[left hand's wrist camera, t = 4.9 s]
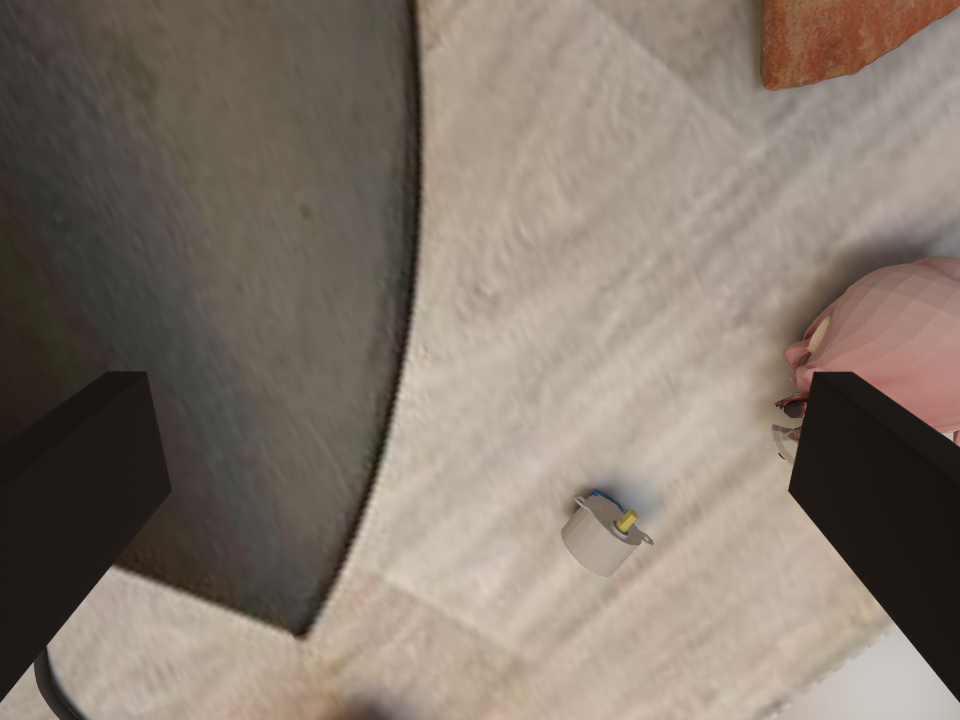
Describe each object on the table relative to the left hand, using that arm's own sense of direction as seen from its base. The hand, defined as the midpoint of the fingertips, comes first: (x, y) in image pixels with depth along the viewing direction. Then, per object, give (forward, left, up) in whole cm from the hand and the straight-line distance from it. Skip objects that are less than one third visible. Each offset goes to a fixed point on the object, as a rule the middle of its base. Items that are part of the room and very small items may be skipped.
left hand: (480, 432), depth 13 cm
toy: (+9, +25, -28) cm, 38 cm away
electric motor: (+21, +9, -28) cm, 36 cm away
